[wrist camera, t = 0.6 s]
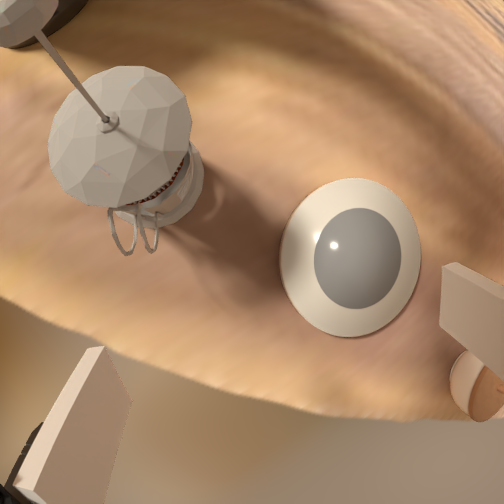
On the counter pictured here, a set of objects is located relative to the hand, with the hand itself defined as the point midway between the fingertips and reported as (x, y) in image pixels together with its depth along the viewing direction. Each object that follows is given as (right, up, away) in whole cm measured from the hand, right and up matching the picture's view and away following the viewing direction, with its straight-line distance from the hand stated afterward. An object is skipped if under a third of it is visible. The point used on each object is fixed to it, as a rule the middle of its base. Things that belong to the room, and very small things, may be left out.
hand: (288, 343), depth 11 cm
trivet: (+9, +3, +21) cm, 23 cm away
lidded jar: (+30, -14, +25) cm, 41 cm away
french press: (-10, +9, +17) cm, 22 cm away
